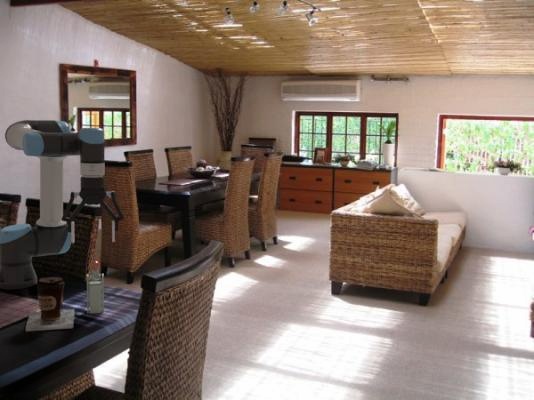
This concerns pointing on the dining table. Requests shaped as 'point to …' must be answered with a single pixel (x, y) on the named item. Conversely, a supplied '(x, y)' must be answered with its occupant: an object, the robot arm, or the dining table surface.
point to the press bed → (50, 321)
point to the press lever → (95, 271)
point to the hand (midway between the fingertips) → (93, 241)
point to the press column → (95, 296)
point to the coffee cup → (50, 297)
